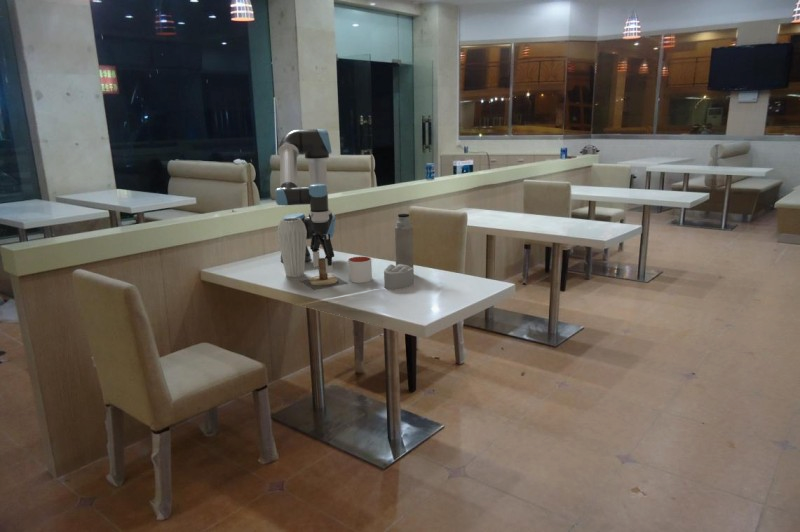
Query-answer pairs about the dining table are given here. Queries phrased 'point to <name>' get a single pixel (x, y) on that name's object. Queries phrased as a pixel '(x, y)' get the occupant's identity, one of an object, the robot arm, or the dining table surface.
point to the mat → (307, 282)
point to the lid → (323, 276)
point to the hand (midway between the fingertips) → (323, 269)
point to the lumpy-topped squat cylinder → (398, 277)
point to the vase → (292, 245)
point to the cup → (360, 269)
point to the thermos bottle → (404, 241)
